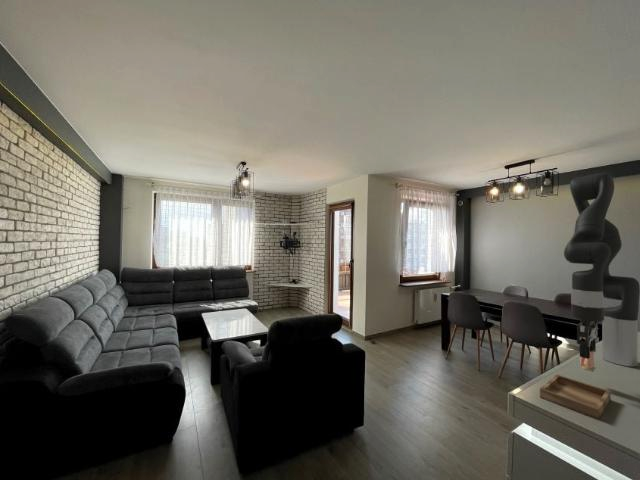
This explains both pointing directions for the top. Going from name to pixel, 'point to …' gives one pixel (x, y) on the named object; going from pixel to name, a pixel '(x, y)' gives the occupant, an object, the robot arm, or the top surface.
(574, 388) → the walnut tray
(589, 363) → the grandmother figurine
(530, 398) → the top surface
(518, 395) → the top surface
